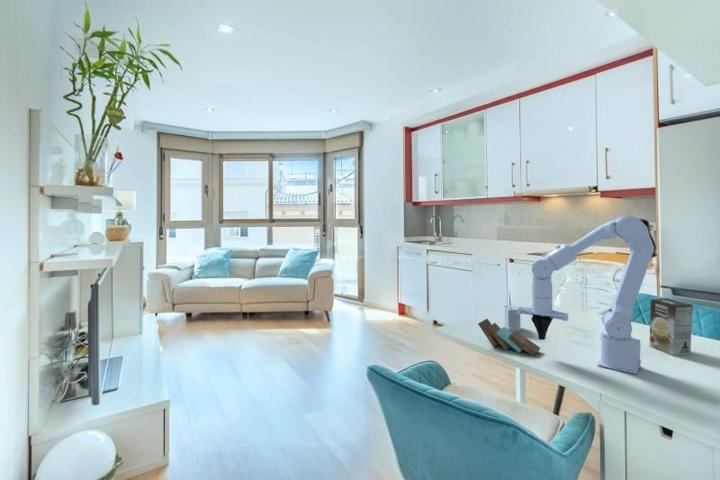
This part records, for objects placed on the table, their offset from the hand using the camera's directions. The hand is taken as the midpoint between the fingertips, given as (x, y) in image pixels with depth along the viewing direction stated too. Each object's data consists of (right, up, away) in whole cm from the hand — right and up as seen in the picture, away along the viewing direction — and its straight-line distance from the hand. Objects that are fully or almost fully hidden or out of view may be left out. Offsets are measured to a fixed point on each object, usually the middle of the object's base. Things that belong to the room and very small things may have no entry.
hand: (542, 338), depth 118 cm
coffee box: (+42, -4, +1) cm, 42 cm away
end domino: (-10, -5, +10) cm, 15 cm away
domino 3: (-1, -5, +1) cm, 5 cm away
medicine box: (+2, -4, +27) cm, 28 cm away
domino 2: (-4, -5, +4) cm, 7 cm away
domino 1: (-7, -4, +7) cm, 11 cm away
